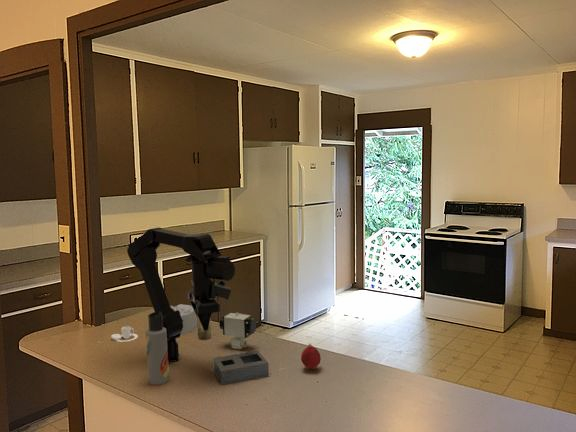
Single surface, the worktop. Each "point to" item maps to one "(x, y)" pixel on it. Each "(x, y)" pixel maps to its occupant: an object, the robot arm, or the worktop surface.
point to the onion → (310, 357)
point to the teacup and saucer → (124, 334)
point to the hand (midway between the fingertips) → (204, 328)
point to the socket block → (240, 367)
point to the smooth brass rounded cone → (201, 333)
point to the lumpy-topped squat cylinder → (187, 317)
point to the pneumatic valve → (237, 328)
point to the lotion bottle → (157, 350)
